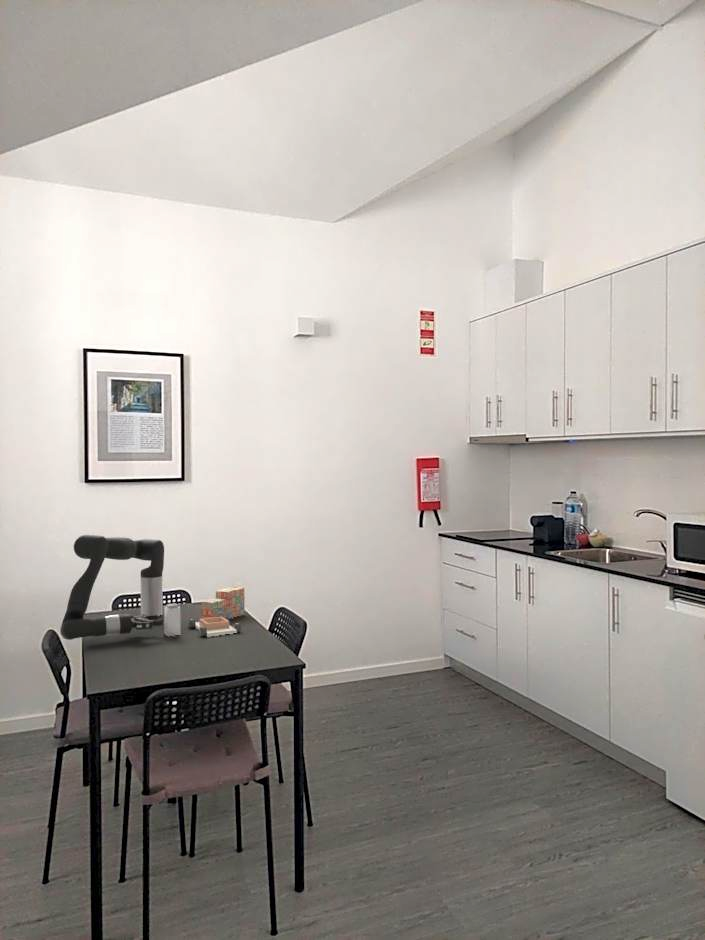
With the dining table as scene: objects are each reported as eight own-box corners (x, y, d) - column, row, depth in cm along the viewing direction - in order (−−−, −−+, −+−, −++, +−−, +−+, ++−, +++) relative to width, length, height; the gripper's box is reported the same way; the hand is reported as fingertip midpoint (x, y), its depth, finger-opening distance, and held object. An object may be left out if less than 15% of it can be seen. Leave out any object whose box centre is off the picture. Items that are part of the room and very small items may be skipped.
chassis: (187, 626, 305) (187, 617, 305) (225, 622, 313) (225, 613, 313) (202, 637, 288) (202, 627, 288) (241, 633, 296) (241, 623, 295)
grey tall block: (164, 634, 293) (164, 603, 293) (177, 632, 296) (176, 602, 295) (167, 637, 289) (167, 606, 289) (180, 635, 291) (180, 605, 291)
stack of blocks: (213, 625, 310) (212, 595, 309) (201, 623, 313) (201, 594, 312) (244, 615, 328) (244, 587, 328) (233, 613, 331) (233, 586, 331)
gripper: (120, 618, 276) (164, 613, 284) (113, 611, 288) (155, 606, 296) (121, 638, 276) (164, 633, 284) (113, 630, 289) (155, 625, 296)
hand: (160, 619), depth 290 cm, fingers open, 8 cm apart
